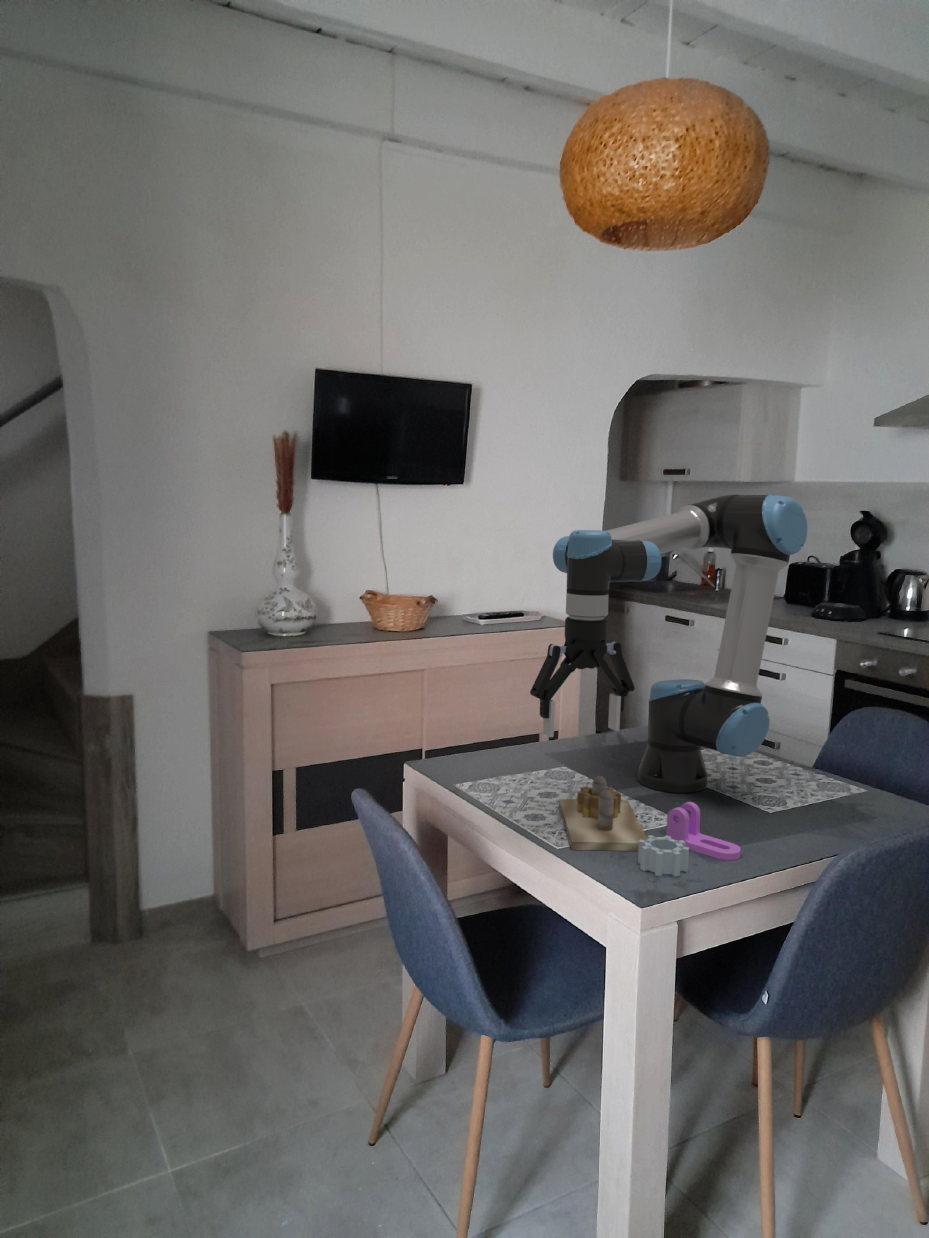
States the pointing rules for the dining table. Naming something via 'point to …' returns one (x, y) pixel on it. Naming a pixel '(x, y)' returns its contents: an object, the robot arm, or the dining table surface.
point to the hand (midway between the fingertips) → (581, 732)
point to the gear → (663, 855)
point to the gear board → (601, 838)
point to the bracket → (697, 834)
